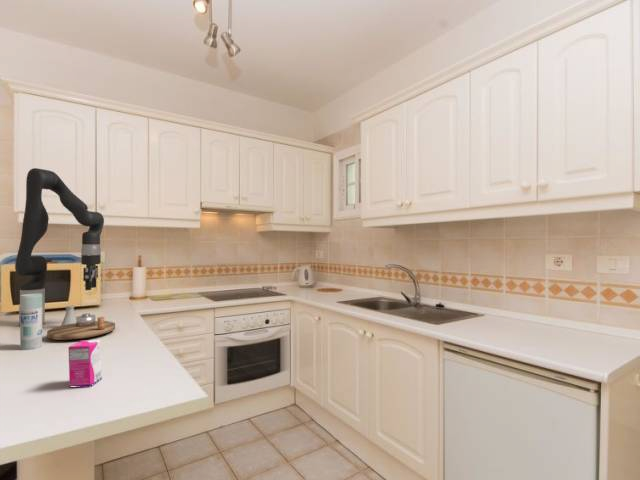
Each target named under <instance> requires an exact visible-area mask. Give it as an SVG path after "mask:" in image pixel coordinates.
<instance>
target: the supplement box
mask: <svg viewBox="0 0 640 480" xmlns="http://www.w3.org/2000/svg"><path fill="white" fill-rule="evenodd" d="M101 343H102V341H101V339H94V340H93V339H91V340H90V339H89V340H80V341H78V342H76V343H74V344H72V345H70V346H68V369H69V370H68V373H69V374H68V375H69V379H68V380H69V387H70V386H91V385H92V384H94V383H95V382H96V381H98V380H99V379H101V378H102V379H103V374H102V344H101ZM102 379H101V380H102ZM98 382H99V381H98ZM95 384H96V383H95ZM95 384H94V385H95ZM91 387H92V386H91Z"/></svg>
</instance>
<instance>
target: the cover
mask: <svg viewBox="0 0 640 480" xmlns="http://www.w3.org/2000/svg"><path fill="white" fill-rule="evenodd" d="M95 321H96V315H95V314H91V313H82V314H81V315H78V316H76V326H77V327H86V326H92V325H95Z"/></svg>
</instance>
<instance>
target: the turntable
mask: <svg viewBox="0 0 640 480" xmlns="http://www.w3.org/2000/svg"><path fill="white" fill-rule="evenodd" d="M115 329H116V323H115V322H113V321H108V320H107V321H105V317H104V316H99V317H97V320H95V325H92V326H86V327H77V326H76V323H73V324H68V325H63V326H61V325H59V326H56V327H52V328H51V329H48V330H47V331H46V337H47V338H48V339H49V340H57V341H58V340H60V341H63V340H79V338H82V339H86V338H87V337H89V338H93V337H97V336H101V335H105V334H108V333H111V332H113V331H114V330H115ZM87 339H88V338H87Z"/></svg>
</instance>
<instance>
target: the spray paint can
mask: <svg viewBox="0 0 640 480" xmlns="http://www.w3.org/2000/svg"><path fill="white" fill-rule="evenodd" d="M19 306H20V325H19V327H20V329H19V330H20V331H19V332H20V334H19V336H20V347H19V348H20V350H22V351H30V350H36V349H39V348H41V347H42V345H43V324H42V294H40V293H36V294H25V295H21V296H20V295H19Z"/></svg>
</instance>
